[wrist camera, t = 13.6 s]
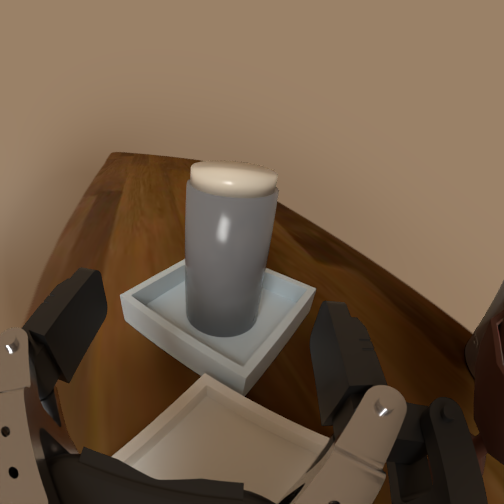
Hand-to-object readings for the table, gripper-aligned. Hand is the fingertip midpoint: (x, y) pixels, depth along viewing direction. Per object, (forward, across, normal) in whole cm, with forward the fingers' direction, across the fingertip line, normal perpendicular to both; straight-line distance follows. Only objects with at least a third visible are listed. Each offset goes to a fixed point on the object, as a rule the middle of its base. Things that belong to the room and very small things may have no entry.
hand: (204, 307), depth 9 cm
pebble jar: (+9, 0, +8) cm, 12 cm away
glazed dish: (+9, 0, +9) cm, 13 cm away
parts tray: (-5, -2, +9) cm, 10 cm away
